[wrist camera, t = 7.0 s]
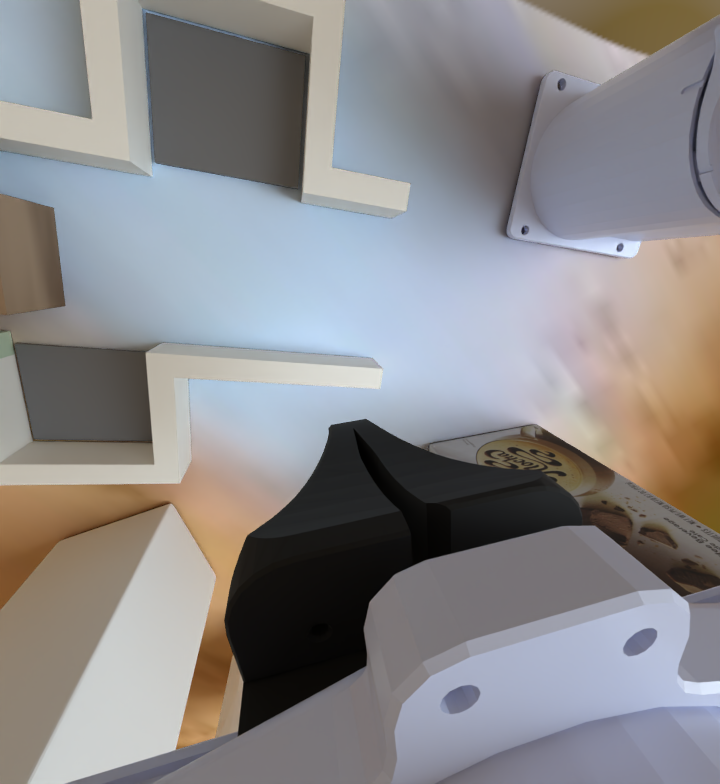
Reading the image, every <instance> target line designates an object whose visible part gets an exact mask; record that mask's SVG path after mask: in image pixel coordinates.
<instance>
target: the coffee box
mask: <svg viewBox="0 0 720 784" xmlns="http://www.w3.org/2000/svg"><path fill="white" fill-rule="evenodd" d="M429 452H432V453H435V454H438V455H441V456H444V457H447V458H451V459H455V460H459V461H463V462H468V463H473V464H478V465H485V466H492V467H499V468H509V469H523V470H538V471H542V472H544V473H545V474H546V475H548V476H549V477H550V478H551V479H553V480H554V481H555V482H556V483H558V484H559V485H560V486H561V487H563V488H564V489H565V490H567V491H568V492H569V493H570V494H571V495H572V496H573V497H574V498H575V499H576V501H577V502H578V503H579V506H580V509H581V512H582V526H596V527H597V528H598V529H600V530H601V531H602V532H603V533H605V534H606V535H607V536H609V537H610V538H611V539H612V540H614V541H615V542H616V543H617V544H618V545H620V546H621V547H622V548H623V549H624V550H626V551H627V552H628V553H629V554H630V555H632V556H633V557H634V558H635V559H636V560H638V561H639V562H640V563H641V564H642V565H644V566H645V567H646V568H647V569H648V570H650V571H651V572H652V573H653V574H655V575H656V576H657V577H658V578H659V579H661V580H662V581H663V582H664V583H665V584H667V585H668V586H669V587H670V588H671V589H673V590H674V591H675V592H676V593H677V594H679V595H680V596H681V597H684V596H687V595H690V594H694V593H697V592H700V591H704V590H707V589H710V588H714V587H717V586H720V534H718V533H716V532H715V531H713V530H711V529H710V528H708V527H706V526H705V525H703V524H701V523H700V522H698V521H696V520H695V519H693V518H691V517H690V516H688V515H686V514H685V513H683V512H681V511H680V510H678V509H676V508H675V507H673V506H671V505H670V504H668V503H666V502H665V501H663V500H661V499H660V498H658V497H656V496H655V495H653V494H651V493H650V492H648V491H646V490H645V489H643V488H641V487H640V486H638V485H636V484H635V483H633V482H631V481H630V480H628V479H626V478H625V477H623V476H621V475H620V474H618V473H616V472H615V471H613V470H611V469H609V468H608V467H606V466H605V465H603V464H601V463H599V462H598V461H596V460H595V459H593V458H591V457H589V456H588V455H586V454H585V453H583V452H581V451H580V450H578V449H576V448H575V447H573V446H571V445H570V444H568V443H566V442H565V441H563V440H561V439H560V438H558V437H556V436H555V435H553V434H551V433H550V432H548V431H547V430H545V429H543V428H542V427H540V426H538V425H531V426H525V427H519V428H514V429H509V430H503V431H498V432H493V433H487V434H482V435H477V436H471V437H466V438H461V439H455V440H450V441H444V442H439V443H434V444H430V446H429Z"/></svg>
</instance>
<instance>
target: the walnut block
mask: <svg viewBox="0 0 720 784" xmlns="http://www.w3.org/2000/svg"><path fill="white" fill-rule="evenodd" d="M61 306H65V299H64V291H63V282H62V274H61V265H60V257H59V248H58V240H57V231H56V223H55V214H54V208H52V207H48V206H44V205H41V204H37V203H33V202H29V201H26V200H22V199H18V198H15V197H11V196H7V195H3V194H0V314H3V315H10V314H16V313H23V312H29V311H36V310H42V309H48V308H55V307H61Z"/></svg>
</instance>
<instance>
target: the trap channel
mask: <svg viewBox="0 0 720 784" xmlns="http://www.w3.org/2000/svg"><path fill="white" fill-rule="evenodd" d="M142 8H143V9H147V10H151V11H154V12H158V13H162V14H165V15H169V16H173V17H176V18H180V19H184V20H187V21H191V22H194V23H198V24H202V25H205V26H209V27H213V28H216V29H220V30H224V31H227V32H231V33H235V34H238V35H242V36H246V37H249V38H253V39H257V40H260V41H264V42H268V43H271V44H275V45H279V46H282V47H286V48H289V49H293V50H297V51H300V52H304V53H308V54H310V61H309V78H308V95H307V112H306V129H305V146H304V163H303V180H302V197H301V203H305V204H311V205H317V206H323V207H328V208H334V209H340V210H346V211H351V212H357V213H363V214H369V215H374V216H380V217H386V218H394V217H396V216H398V215H400V214H402V213H404V212H406V211H407V204H408V197H409V191H410V184H411V183H406V182H401V181H396V180H391V179H386V178H382V177H377V176H372V175H367V174H362V173H357V172H352V171H347V170H342V169H337V168H332V157H333V145H334V133H335V121H336V108H337V96H338V84H339V72H340V60H341V47H342V35H343V23H344V11H345V0H80V9H81V19H82V28H83V37H84V46H85V56H86V65H87V74H88V84H89V93H90V102H91V111H92V119H89V118H84V117H79V116H74V115H69V114H64V113H59V112H54V111H49V110H44V109H39V108H34V107H29V106H24V105H19V104H14V103H9V102H4V101H0V150H1V151H7V152H13V153H18V154H24V155H30V156H35V157H41V158H47V159H53V160H58V161H64V162H70V163H76V164H81V165H87V166H93V167H99V168H104V169H110V170H116V171H122V172H127V173H133V174H139V175H145V176H150V177H153V174H152V158H151V142H150V126H149V111H148V95H147V79H146V63H145V48H144V32H143V16H142ZM146 23H147V40H148V56H149V73H150V89H151V106H152V122H153V138H154V155H155V162H156V163H158V164H163V165H169V166H174V167H180V168H185V169H191V170H196V171H202V172H207V173H213V174H218V175H224V176H229V177H235V178H240V179H245V180H251V181H256V182H262V183H267V184H273V185H278V186H284V187H289V188H295V189H298V181H299V163H300V145H301V127H302V109H303V91H304V73H305V56H304V55H301V54H297V53H293V52H290V51H286V50H282V49H279V48H275V47H271V46H268V45H264V44H260V43H257V42H253V41H249V40H246V39H242V38H238V37H235V36H231V35H227V34H224V33H220V32H216V31H213V30H209V29H205V28H201V27H198V26H194V25H190V24H187V23H183V22H179V21H176V20H172V19H168V18H165V17H161V16H157V15H154V14H150V13H146ZM15 349H16V354H17V359H18V364H19V369H20V374H21V379H22V384H23V388H24V393H25V398H26V403H27V408H28V413H29V418H30V423H31V428H32V433H33V437H34V439H37V440H102V441H153V443H141V442H72V441H33V439H32V435H31V430H30V425H29V420H28V415H27V410H26V405H25V400H24V396H23V391H22V386H21V381H20V376H19V371H18V366H17V362H16V357H15V352H14V347H13V342H12V337H11V332H10V331H4V330H0V485H77V484H176V483H180V482H181V480H182V478H183V476H184V474H185V472H186V470H187V468H188V466H189V465H190V463H191V461H192V456H191V432H190V408H189V383H188V379H205V380H224V381H242V382H261V383H279V384H298V385H316V386H335V387H353V388H371V389H380V387H381V380H382V373H383V368H382V367H381V366H380V365H379V364H378V363H377V362H376V361H375V360H374V359H373V358H363V357H350V356H337V355H323V354H310V353H297V352H283V351H270V350H257V349H244V348H230V347H217V346H204V345H190V344H177V343H164V342H163V343H161V344H160V345H158V346H156V347H154V348H153V349H151V350H149V351H147V352H141V351H126V350H112V349H97V348H83V347H68V346H53V345H39V344H24V343H15Z"/></svg>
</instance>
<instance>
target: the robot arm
mask: <svg viewBox="0 0 720 784" xmlns="http://www.w3.org/2000/svg"><path fill="white" fill-rule="evenodd" d="M558 83H560V86H561V90H559V89H558V87H557V84H558ZM522 227H524V228H525V232H524V234H522V233H521V229H522ZM507 235H508V236H509V238H512V239H517V240H522V241H528V242H534V243H540V244H545V245H551V246H557V247H563V248H568V249H574V250H580V251H585V252H591V253H597V254H603V255H608V256H614V257H620V258H632V257H634V256H635V255H636V254H637V252H638V250H639V247H640V244H641V241H651V240H663V239H675V238H687V237H699V236H711V235H720V15H718V16H716V17H715V18H713V19H711V20H710V21H708V22H706V23H705V24H703V25H701V26H700V27H698V28H696V29H694V30H693V31H691V32H690V33H688V34H686V35H684V36H683V37H681V38H679V39H678V40H676V41H674V42H673V43H671V44H669V45H668V46H666V47H664V48H663V49H661V50H659V51H658V52H656V53H654V54H652V55H651V56H649V57H647V58H646V59H644V60H642V61H641V62H639V63H637V64H636V65H634V66H632V67H631V68H629V69H627V70H626V71H624V72H622V73H620V74H619V75H617V76H615V77H614V78H612V79H610V80H609V81H607V82H605V83H604V84H602V85H600V84H597V83H594V82H591V81H588V80H584V79H581V78H578V77H575V76H572V75H568V74H565V73H562V72H559V71H551V72H549V73H548V74H547V75H545V76H544V78H543V79H542V82H541V85H540V89H539V94H538V98H537V102H536V106H535V111H534V115H533V119H532V123H531V128H530V132H529V136H528V140H527V145H526V149H525V153H524V157H523V162H522V166H521V170H520V174H519V179H518V183H517V187H516V191H515V196H514V200H513V204H512V208H511V213H510V217H509V221H508V225H507ZM617 246H618V249H617V250H616V248H617ZM224 621H225V628H226V635H227V638H228V641H229V643H230V646H231V649H232V652H233V655H234V657H235V660H236V663H237V666H238V669H239V671H240V674H241V677H242V680H243V691H242V700H241V709H240V718H239V727H238V731H237V732H234V733H230V734H227V735H224V736H220V737H217V738H214V739H210V740H207V741H204V742H201V743H197V744H194V745H191V746H187V747H184V748H181V749H177V750H174V751H171V752H167V753H164V754H161V755H157V756H154V757H151V758H148V759H144V760H141V761H138V762H134V763H131V764H128V765H124V766H121V767H118V768H114V769H111V770H108V771H105V772H101V773H98V774H95V775H91V776H88V777H85V778H81V779H78V780H75V781H71V782H68V783H65V784H720V586H717V587H714V588H710V589H707V590H704V591H700V592H697V593H694V594H690V595H687V596H684V597H681V596H680V595H679V594H677V593H676V592H675V591H674V590H673V589H671V588H670V587H669V586H668V585H667V584H665V583H664V582H663V581H662V580H661V579H659V578H658V577H657V576H656V575H655V574H653V573H652V572H651V571H650V570H648V569H647V568H646V567H645V566H644V565H642V564H641V563H640V562H639V561H638V560H636V559H635V558H634V557H633V556H632V555H630V554H629V553H628V552H627V551H626V550H624V549H623V548H622V547H621V546H620V545H618V544H617V543H616V542H615V541H614V540H612V539H611V538H610V537H609V536H607V535H606V534H605V533H603V532H602V531H601V530H600V529H598V528H597V527H596V526H582V512H581V509H580V506H579V503H578V502H577V501H576V499H575V498H574V497H573V496H572V495H571V494H570V493H569V492H568V491H567V490H565V489H564V488H563V487H561V486H560V485H559V484H558V483H556V482H555V481H554V480H553V479H551V478H550V477H549V476H548V475H546V474H545V473H544V472H542V471H538V470H523V469H509V468H499V467H492V466H485V465H478V464H473V463H468V462H463V461H459V460H455V459H451V458H447V457H444V456H441V455H438V454H435V453H432V452H429V451H426V450H423V449H421V448H418V447H416V446H414V445H412V444H410V443H407V442H405V441H403V440H401V439H399V438H397V437H396V436H394V435H392V434H390V433H388V432H387V431H385V430H383V429H382V428H380V427H378V426H377V425H375V424H374V423H372V422H370V421H369V420H367V419H363V420H357V421H352V422H346V423H340V424H335V425H331V426H330V428H329V436H328V440H327V443H326V446H325V449H324V452H323V454H322V456H321V459H320V461H319V463H318V465H317V467H316V469H315V470H314V472H313V474H312V475H311V477H310V479H309V480H308V482H307V483H306V484H305V486H304V487H303V488H302V489H301V491H300V492H299V493H298V494H297V496H296V497H295V498H294V499H293V500H292V501H291V502H290V503H289V504H288V505H287V506H286V507H284V508H283V509H282V510H281V511H280V512H279V513H278V514H276V515H275V516H274V517H273V518H271V519H270V520H269V521H267V522H266V523H264V524H263V525H262V526H260V527H259V528H258V529H256V530H255V531H253V532H252V533H250V534H249V535H248V536H247V537H246V540H245V542H244V545H243V547H242V550H241V553H240V555H239V558H238V561H237V564H236V567H235V570H234V574H233V577H232V581H231V585H230V591H229V596H228V602H227V608H226V614H225V619H224Z"/></svg>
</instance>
